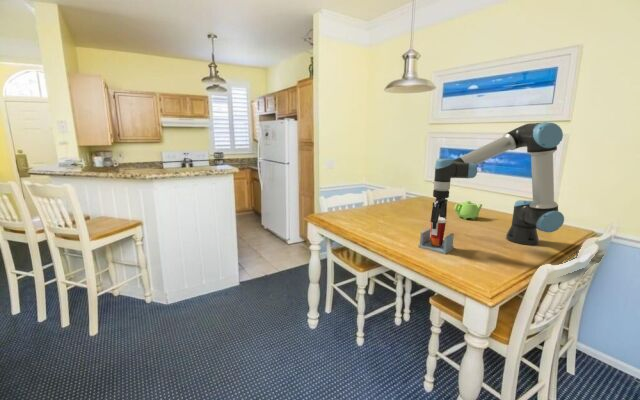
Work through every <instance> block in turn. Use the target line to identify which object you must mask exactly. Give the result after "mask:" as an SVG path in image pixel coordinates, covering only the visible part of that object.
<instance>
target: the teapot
mask: <svg viewBox="0 0 640 400" xmlns="http://www.w3.org/2000/svg"><path fill="white" fill-rule="evenodd" d="M482 207H483V204H482V203H479V204H478V205H477V204H476V203H473V202H472V201H470V200H466V201H465V202H460V203H455V205H454V208H453V211H454V212H456V215H457V216H458V218H463V220H465V221H466V220H467V219H470V220H473V221H475V220H476V218H478V217H479V215H480V211H481V210H482Z"/></svg>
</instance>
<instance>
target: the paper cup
mask: <svg viewBox="0 0 640 400" xmlns="http://www.w3.org/2000/svg"><path fill="white" fill-rule="evenodd" d="M445 218H446V217H445ZM445 218H443V217H440V216H439V218H438V222H437V223H438V231H437V236H436V235H432V234H431V232H432V222H430V223H431V224H430V229H431V232H430V237H431V244H432V245H434V246H442V243H443V240H444V238H445V237H444V236H445V230H446V223H447V219H445Z"/></svg>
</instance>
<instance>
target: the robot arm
mask: <svg viewBox="0 0 640 400" xmlns="http://www.w3.org/2000/svg"><path fill="white" fill-rule="evenodd" d="M563 137H564V135H563V130H562V128H561V127H560V125H558V124H557V123H555V122H546V121H542V122H536V123H535V122H532V123H525V124H524V125H520V126H518V127H516V128H514V129H511V130H510V131H508V132H506V133H504V134H503V135H502V136H501V137H499V138H497V139H495V140H493V141H491V142H489V143H487V144H484V145H482V146H480V147H478V148H476V149H474V150H471V151H470V152H468V153H465V154H464V155H461V156H460V157H456V158H455V159H452V158H437V159H436V162H435V165H434V166H435V167H434V181H433V191H432V197H433V198H435V201H434V202H432V207H431V208H432V209H431V215H430V216H431V217H430V223H431V222H432V232H430V235H431V234H432V235H436V236H437V231H438V223H437V222H438V218H439V217H443V218H445V219H446V220H447V219H448V218H447V213H448V211H447V210H448V200H449V197H450V188H451V181H452V180H451V179H468V180H469V179H474V178H476V176H477V174H478V165H479V164H481V163H484V162H485V161H488V160H490V159H492V158H494V157H495V158H496V156H499V155H501V154H503V153H506V152H508V151H514V150H517V149H519V148H526V152H527V154H529V155H530V161H531V162H530V163H531V186H532V187H531V188H532V200H526V199H525V200H524V199H522V200H516V201H515V203H514V204H513V213H512V218H511V220H512V221H511V226H510V227H509V229H508V231H507V233H506V236H505V239H506V240H508V241H509V242H511V243H514V244H520V245H527V246H534V245H535V246H536V245H538V244H539V236H538V235H539V234H538V231H540V232H544V233H553V232H556V231H558V230H559V229H560V228H561V227H562V226H563V225H564V223H565V216H564V214H563V213H562V212H561V211H559V204H558V203H557V202H556V201H555V185H554V184H555V183H554V181H555V179H554V178H555V177H554V153H555V152H556V151H558V146H559V145H560V143H561V142H562V141H563ZM537 230H538V231H537Z"/></svg>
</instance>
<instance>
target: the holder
mask: <svg viewBox="0 0 640 400" xmlns="http://www.w3.org/2000/svg"><path fill="white" fill-rule="evenodd" d="M454 235H455V233H451V232H450V234H448V235H446V236H445V237H443V243H442V246H434V245H432V244H431V227H430V228H429V227H428V228H426V229H425V230H423V231H421V232H420V237H419V244H418V246H417V248H421V249H422V250H423V249H424V250H426V251H427V250H428V251H430V252H431V251H432V252H435V253H438V254H443V255H446V254H448V253H449V252H450V251H452V250H454V247H455V246H454V237H455V236H454Z"/></svg>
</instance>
